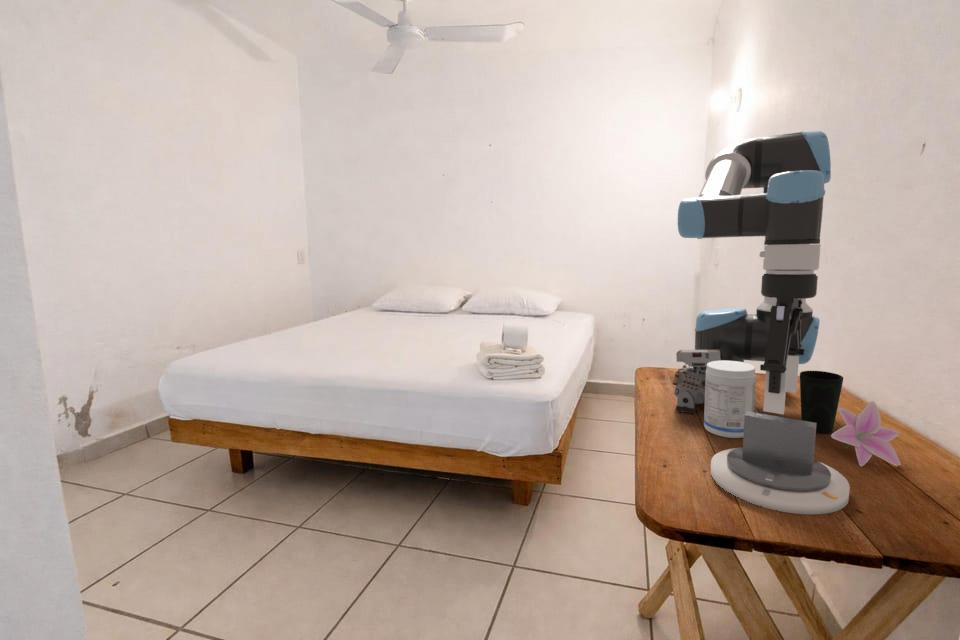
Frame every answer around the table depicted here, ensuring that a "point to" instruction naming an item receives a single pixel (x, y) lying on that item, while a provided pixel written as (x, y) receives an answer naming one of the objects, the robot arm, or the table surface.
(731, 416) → the supplement tub
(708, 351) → the figurine
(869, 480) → the table surface
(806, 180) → the robot arm
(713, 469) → the dial base
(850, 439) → the lily
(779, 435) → the dial
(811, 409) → the cup
